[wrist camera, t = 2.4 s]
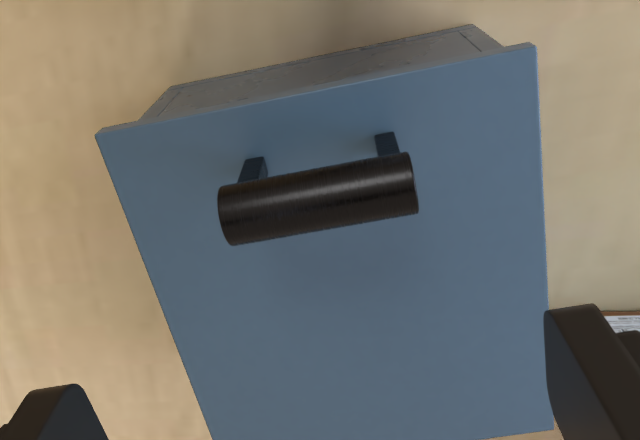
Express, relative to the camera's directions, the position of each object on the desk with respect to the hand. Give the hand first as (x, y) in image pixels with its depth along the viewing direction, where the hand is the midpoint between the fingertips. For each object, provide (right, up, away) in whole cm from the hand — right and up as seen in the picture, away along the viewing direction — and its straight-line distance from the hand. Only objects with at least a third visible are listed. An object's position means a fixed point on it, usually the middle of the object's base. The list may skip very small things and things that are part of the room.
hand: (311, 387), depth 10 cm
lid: (+1, 0, +14) cm, 14 cm away
